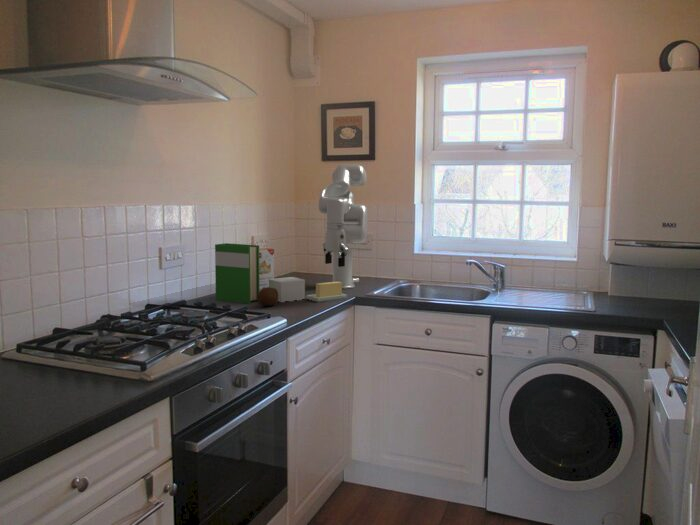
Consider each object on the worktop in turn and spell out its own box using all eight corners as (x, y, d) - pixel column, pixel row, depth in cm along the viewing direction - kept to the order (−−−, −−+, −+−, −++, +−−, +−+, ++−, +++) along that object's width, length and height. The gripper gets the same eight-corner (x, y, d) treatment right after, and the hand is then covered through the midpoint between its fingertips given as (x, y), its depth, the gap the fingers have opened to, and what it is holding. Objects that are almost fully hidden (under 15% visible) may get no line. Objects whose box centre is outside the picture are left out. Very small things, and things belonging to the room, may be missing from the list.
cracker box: (252, 297, 254) (252, 250, 252) (243, 295, 258) (242, 249, 255) (274, 293, 265) (274, 248, 263) (265, 291, 269) (265, 247, 266)
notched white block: (293, 295, 259) (293, 276, 257) (306, 299, 250) (306, 279, 249) (268, 298, 251) (268, 279, 250) (281, 302, 242) (281, 282, 241)
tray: (335, 295, 260) (335, 291, 260) (346, 298, 254) (347, 294, 253) (306, 299, 250) (306, 295, 250) (317, 302, 244) (317, 298, 244)
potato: (281, 305, 236) (281, 286, 235) (268, 309, 228) (268, 289, 227) (267, 303, 240) (267, 285, 239) (253, 307, 231) (253, 288, 230)
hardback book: (259, 300, 245) (259, 245, 243) (249, 303, 239) (248, 246, 236) (226, 296, 253) (226, 243, 250) (215, 299, 247) (215, 244, 244)
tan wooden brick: (337, 295, 257) (337, 281, 257) (341, 296, 255) (341, 282, 254) (315, 298, 250) (315, 283, 249) (319, 299, 248) (319, 284, 247)
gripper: (354, 228, 246) (353, 266, 249) (330, 224, 260) (330, 261, 263) (340, 228, 242) (339, 268, 245) (317, 225, 255) (316, 263, 258)
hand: (334, 264), depth 254 cm, fingers open, 9 cm apart
